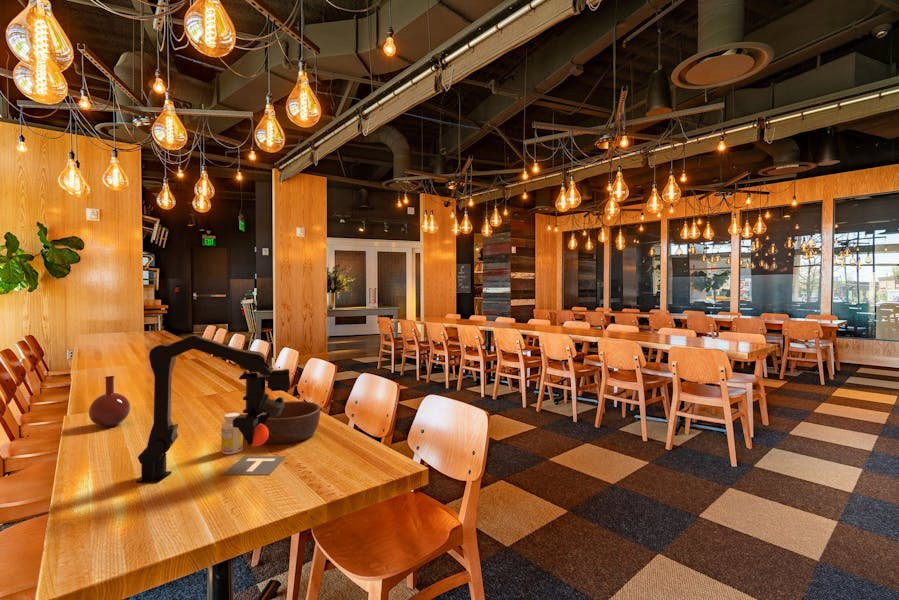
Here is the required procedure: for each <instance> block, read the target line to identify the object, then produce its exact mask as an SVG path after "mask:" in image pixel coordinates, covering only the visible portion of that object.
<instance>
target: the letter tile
mask: <svg viewBox="0 0 899 600" xmlns="http://www.w3.org/2000/svg"><path fill="white" fill-rule="evenodd" d="M285 458H287V456H286V455H285V456H283V455H282V456H279V455H278V456H276V455H275V456H274V455H273V456H272V455H271V456H269V455H260V456H259V455H258V456H257V455H252V456H250V455H248V456H247V455H246V456H245V455H244V456H242V457H240V459H238V460H237V461H236V462H235V463H234V464H233V465H231V467H229V468H228V469H227V470H226V471H225V472H223V474H222V476H270V475H271V474H272V473H273V472H274V471H275V469H276V468H277V467H278V466H279V465H280V464H281V462H283V460H285Z"/></svg>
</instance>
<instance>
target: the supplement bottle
mask: <svg viewBox="0 0 899 600" xmlns="http://www.w3.org/2000/svg"><path fill="white" fill-rule="evenodd" d="M239 415H241V413H240V412H229V413H226V414H224V417H223V418H224V422H223V423H222V424H221V429H220V431H221V433H220V435H221V437H220V438H221V440H220V441H221V446H220V447H221V453H222V454H224V455H234V454H239V453H240V452H242V451H243V449H244V436H243V435H242V433H241V431H240V430H239V428H237V427H232V421H233V420H234V419H235V418H236V417H237V416H239Z"/></svg>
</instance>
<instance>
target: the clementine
mask: <svg viewBox="0 0 899 600" xmlns="http://www.w3.org/2000/svg"><path fill="white" fill-rule="evenodd" d="M268 436H269V431H268V428H267V427H266V426H265V425H263V424H260V423H259V425H258V426H257V427H256V428H255V431H254V438H253V443H252V445H251V446H252V447H259V446H262V445H264V444H266V443H265V442H266V440H267V439H268Z"/></svg>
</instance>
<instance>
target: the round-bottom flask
mask: <svg viewBox="0 0 899 600" xmlns="http://www.w3.org/2000/svg"><path fill="white" fill-rule="evenodd" d="M104 379H105V394H102V395H99V396H97V397H96V398H95V399H94V400H93V401H92V402H91V404H90V406H89V409H88V417H89V419H90V420H91V422H92V423H93V424H95V425H97V426H100V427H103V428H104V427H106V428H107V427H109V428H111V427H113V426H117V425H119V424H121V423H122V422H123V421H124V420H126V419H127V417H128V416H129V414H130V411H131V403H130V401H129V400H128V398H127V397H126V396H124V395H123V394H121V393H118V392H115V387H114V386H115V375H107V376H104Z"/></svg>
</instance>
